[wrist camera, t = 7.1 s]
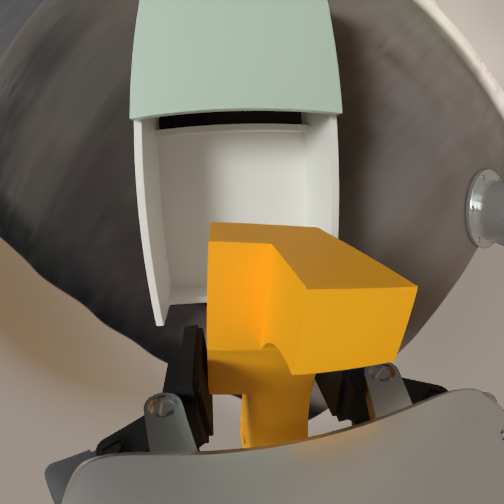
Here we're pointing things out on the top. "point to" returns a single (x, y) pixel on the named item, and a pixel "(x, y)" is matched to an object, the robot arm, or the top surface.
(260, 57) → the lid
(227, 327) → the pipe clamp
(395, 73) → the top surface
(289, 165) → the housing
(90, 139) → the top surface
